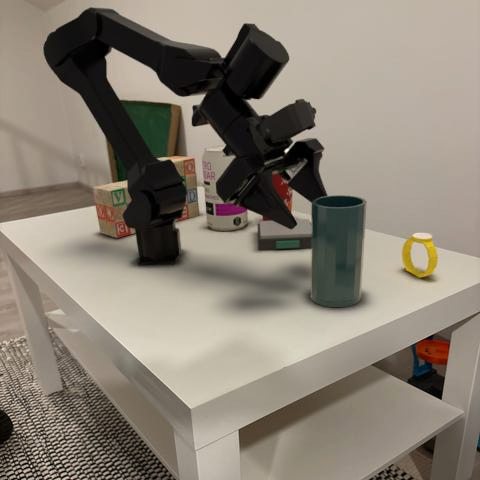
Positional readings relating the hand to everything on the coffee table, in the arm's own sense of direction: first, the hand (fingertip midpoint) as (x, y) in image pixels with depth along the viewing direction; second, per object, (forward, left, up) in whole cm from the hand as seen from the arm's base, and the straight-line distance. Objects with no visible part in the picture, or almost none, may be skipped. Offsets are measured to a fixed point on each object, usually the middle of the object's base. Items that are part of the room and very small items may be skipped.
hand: (312, 218), depth 66 cm
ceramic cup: (+3, -2, -10) cm, 11 cm away
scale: (-2, +24, -10) cm, 26 cm away
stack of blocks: (-29, +39, -11) cm, 50 cm away
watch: (+16, +5, -11) cm, 20 cm away
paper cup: (-3, +36, -11) cm, 38 cm away
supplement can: (-13, +35, -11) cm, 39 cm away
